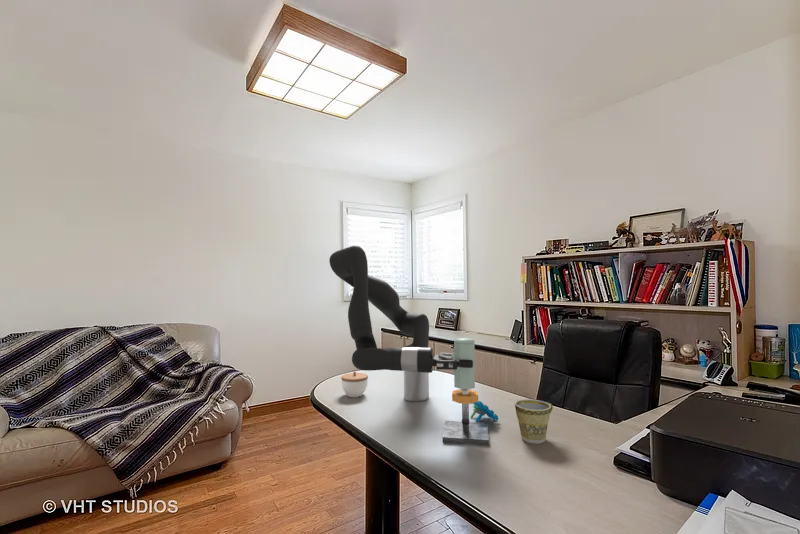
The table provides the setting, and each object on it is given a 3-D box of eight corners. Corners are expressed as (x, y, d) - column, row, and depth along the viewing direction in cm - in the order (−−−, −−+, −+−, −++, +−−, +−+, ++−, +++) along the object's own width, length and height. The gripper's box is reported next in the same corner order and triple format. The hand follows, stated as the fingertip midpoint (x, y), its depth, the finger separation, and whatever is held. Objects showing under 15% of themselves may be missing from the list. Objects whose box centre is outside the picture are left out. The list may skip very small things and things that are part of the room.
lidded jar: (371, 391, 162) (371, 369, 163) (363, 399, 152) (363, 375, 152) (346, 390, 165) (346, 368, 165) (337, 398, 154) (337, 374, 154)
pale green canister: (454, 383, 121) (454, 337, 121) (474, 384, 120) (474, 338, 120) (454, 388, 115) (453, 340, 115) (474, 389, 114) (474, 341, 114)
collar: (452, 395, 122) (452, 388, 122) (477, 396, 121) (477, 389, 121) (451, 403, 114) (451, 396, 114) (478, 404, 113) (478, 397, 113)
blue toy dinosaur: (505, 420, 124) (483, 399, 123) (495, 435, 123) (472, 414, 122) (487, 413, 135) (467, 394, 134) (478, 427, 133) (457, 408, 132)
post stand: (445, 425, 125) (444, 368, 125) (486, 427, 122) (486, 370, 123) (442, 442, 112) (441, 379, 112) (489, 445, 110) (488, 380, 110)
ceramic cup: (533, 449, 107) (533, 412, 107) (508, 436, 116) (507, 402, 116) (566, 439, 113) (565, 404, 113) (539, 428, 122) (539, 395, 122)
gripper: (414, 351, 113) (472, 353, 110) (420, 343, 127) (472, 345, 124) (414, 377, 113) (473, 380, 110) (420, 366, 127) (472, 368, 124)
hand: (472, 361), depth 117 cm, fingers closed on pale green canister, 6 cm apart
